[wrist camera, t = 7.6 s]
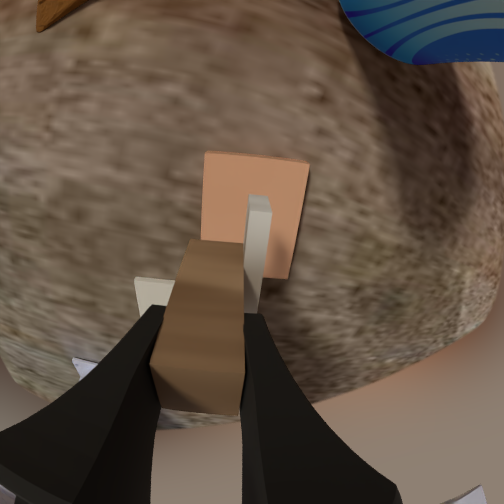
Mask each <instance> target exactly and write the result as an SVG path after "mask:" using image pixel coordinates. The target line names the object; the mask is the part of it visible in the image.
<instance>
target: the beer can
mask: <svg viewBox="0 0 504 504" xmlns="http://www.w3.org/2000/svg"><path fill="white" fill-rule="evenodd" d="M339 2H340V4H341V7H342V9H343V11H344V13H345V15H346V16H347V18H348V19H349V21H350V22H351V24H352V25H353V26H354V28H355V29H356V30H357V31H358V32H359V33H360V34H361V35H362V36H363V37H364V38H365V39H366V40H367V41H368V42H369V43H370V44H372V45H373V46H374V47H375V48H377V49H378V50H380V51H381V52H383V53H384V54H386V55H388V56H390V57H392V58H394V59H396V60H398V61H401V62H404V63H408V64H414V65H426V64H437V63H450V62H478V61H484V62H504V0H339Z"/></svg>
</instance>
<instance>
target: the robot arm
mask: <svg viewBox="0 0 504 504" xmlns="http://www.w3.org/2000/svg"><path fill="white" fill-rule="evenodd" d="M166 307H167V306H163V305H154V304H152V305H151V306H149V308H148V309H147V310H146V311H145V312H144V314H143V315H142V316H141V317H140V319H139V320H138V321H137V322H136V323H135V324H134V326H133V327H132V328H131V329H130V330H129V331H128V333H127V334H126V335H125V336H124V337H123V338H122V339H121V340H120V342H119V343H118V344H117V345H116V346H115V347H114V348H113V349H112V350H111V351H110V352H109V353H108V354H107V355H106V356H105V357H104V358H103V359H102V360H101V361H100V362H99V364H98V363H94V362H90V361H86V360H82V359H78V358H73V359H72V362H73V364H74V366H75V367H76V369H77V371H78V373H79V375H80V376H81V377H80V380H79V382H78V383H77V384H76V385H74V386H73V387H72V388H71V389H69V390H68V391H67V392H65V393H64V394H63V395H62V396H60V397H59V398H58V399H56V400H55V401H54V402H52V403H51V404H49V405H48V406H46V407H45V408H43V409H41V410H40V411H38V412H37V413H35V414H33V415H32V416H30V417H29V418H27V419H25V420H23V421H21V422H20V423H17V424H16V425H13V426H11V427H9V428H7V429H5V430H3V431H1V432H0V504H150V494H151V493H150V492H151V471H152V457H153V448H154V439H155V432H156V427H157V422H158V418H159V414H160V410H161V404H160V401H159V397H158V394H157V391H156V387H155V384H154V380H153V376H152V373H151V369H150V365H149V362H150V359H151V355H152V352H153V349H154V345H155V342H156V339H157V335H158V332H159V329H160V327H161V324H162V322H163V319H164V317H163V316H164V313H165V310H166ZM243 333H244V350H245V376H244V382H243V388H242V394H241V401H240V407H239V408H240V418H241V429H242V444H243V447H242V448H243V450H242V451H243V453H242V462H243V463H242V466H243V467H242V504H403V503H402V499H401V496H400V493H399V491H398V489H397V486H396V484H394V483H393V482H391V481H390V480H389V479H387V478H386V477H384V476H383V475H381V474H380V473H379V472H377V471H376V470H375V469H374V468H372V467H371V466H370V465H368V464H367V463H366V462H365V461H364V460H363V459H361V458H360V457H359V456H358V455H357V454H356V453H354V452H353V451H352V450H351V449H350V448H349V447H348V446H347V445H346V444H345V443H344V442H343V441H342V440H341V439H340V437H338V436H337V435H336V434H335V432H334V431H333V430H332V429H331V428H330V427H329V426H328V425H327V424H326V422H324V420H323V419H322V418H321V416H320V415H319V414H318V413H317V412H316V410H315V409H314V408H313V406H312V405H311V404H310V402H309V401H308V400H307V398H306V397H305V395H304V394H303V392H302V391H301V389H300V388H299V386H298V385H297V383H296V382H295V380H294V378H293V377H292V375H291V374H290V372H289V370H288V368H287V367H286V365H285V363H284V361H283V359H282V357H281V356H280V354H279V352H278V350H277V348H276V346H275V344H274V341H273V339H272V337H271V335H270V332H269V330H268V327H267V325H266V322H265V319H264V316H263V315H262V314H256V313H244V324H243ZM441 504H487V502H486V498H485V495H484V491H483V488H482V485H478V486H476V487H475V488H473V489H471V490H469V491H467V492H465V493H464V494H462V495H460V496H458V497H456V498H453V499H451V500H448V501H446V502H444V503H441Z"/></svg>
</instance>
